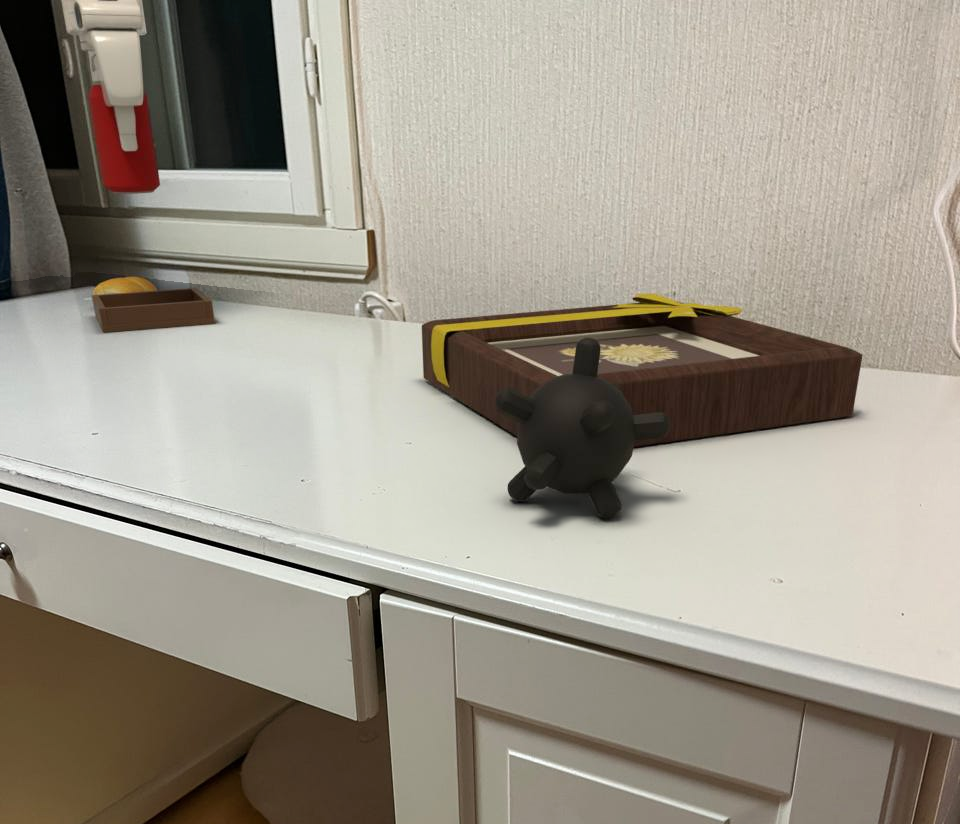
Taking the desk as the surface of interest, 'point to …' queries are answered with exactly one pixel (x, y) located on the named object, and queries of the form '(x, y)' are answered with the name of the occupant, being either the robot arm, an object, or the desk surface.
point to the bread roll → (124, 286)
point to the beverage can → (117, 165)
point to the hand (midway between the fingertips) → (126, 150)
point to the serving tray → (152, 309)
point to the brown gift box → (650, 364)
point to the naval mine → (576, 433)
